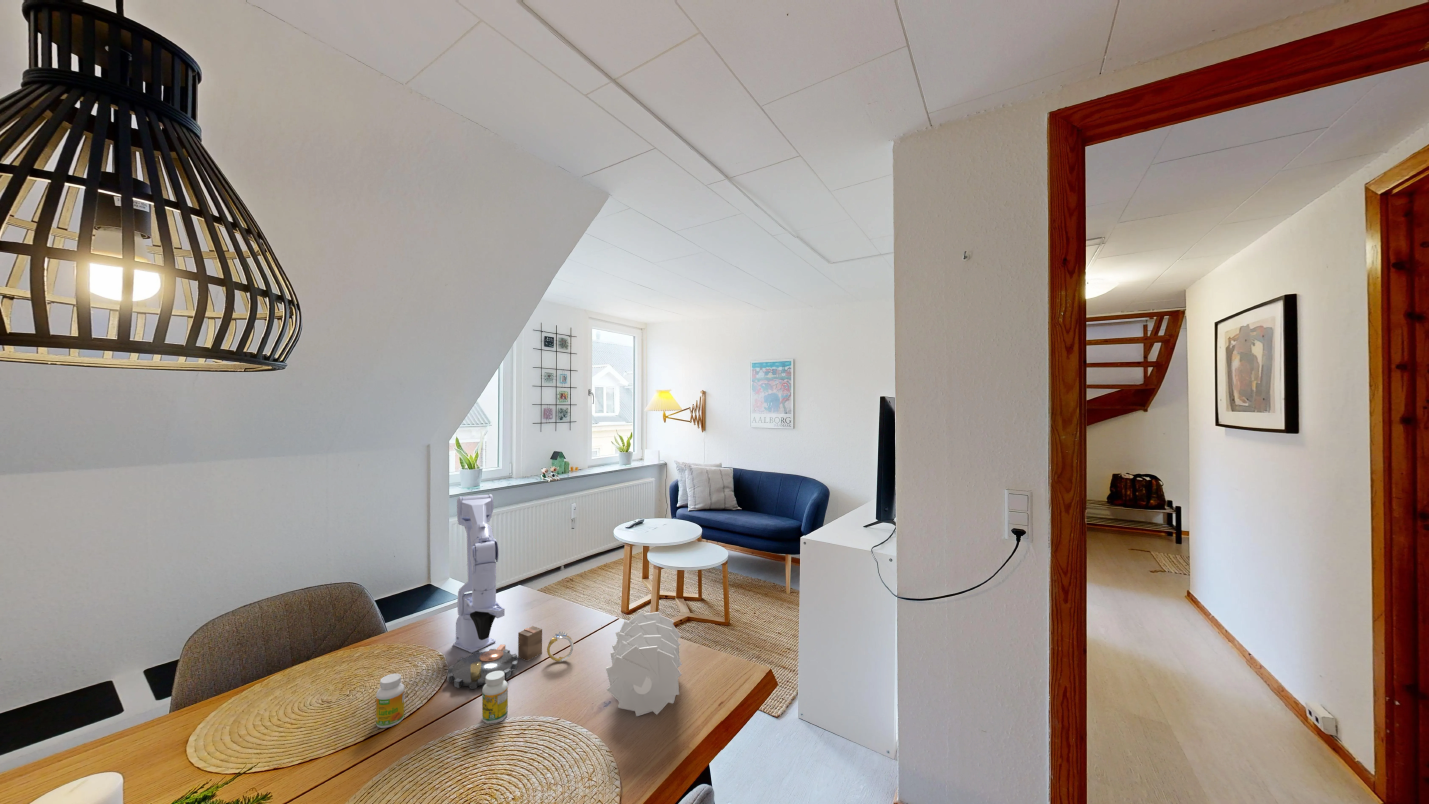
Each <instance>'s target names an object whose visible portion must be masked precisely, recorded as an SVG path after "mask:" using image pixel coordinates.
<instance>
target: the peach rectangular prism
mask: <svg viewBox="0 0 1429 804" xmlns="http://www.w3.org/2000/svg"><path fill="white" fill-rule="evenodd" d="M495 649H496V650H501V651H503V650H505V649H506V644H499V646H498V647H497V648H495Z"/></svg>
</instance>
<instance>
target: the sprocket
mask: <svg viewBox="0 0 1429 804" xmlns="http://www.w3.org/2000/svg"><path fill="white" fill-rule="evenodd" d="M496 649H497V648H490V649H489V650H485V651H481V652H480V651H479V650H477V651H475V652H472V654H471V655H467V656H466V657H464V656H462V657H460V658H458V659H457V660H456V663H455V664H454V665H453V664H450V666H449V667H448V671H447V672H448V673H447V675H446V676H447V677H446V679H447V682H448V683H452V682H453V687H455V688H457V689H458V688H461V687H469V690H470V689H471V690H472V689H477V688H478V686H484V685H485V684H486V683H485V679H486V675H487V674H489V673H491V672H494V671H503V672H504V674H505V679H508V678H509V677H510V676H512V671H513V670H514V671H515V670H517V669H518V667H519V661H518V654H517V653H513V654H512V653H511V650H509V649H506V648H505V650H503V651H501V650H496Z"/></svg>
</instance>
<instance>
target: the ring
mask: <svg viewBox="0 0 1429 804" xmlns="http://www.w3.org/2000/svg"><path fill="white" fill-rule="evenodd" d="M554 634H555V635H552V637H551V638H550V640H548V641H549V642H548V643H547V647H546V652H547V656H548V657H549V658H550V659H551V660H553V661H554V662H559V663H561V662H563V661H566V660H568V659H569V658H570V657H571V656H572V653H573V650H574V646H575V645H574V641H573V639H572V638H571V636H569V635H568V633H567V632H565V631H562V632H561V631H560V630H559V631H558V633H554ZM558 640H567V641H568V643H569V644H570V650H569V652H568V653H567V655H565V656H559V657H556V656H554V655H553V654H552V652H551V646H552V645H553V644H554V643H556V642H558Z"/></svg>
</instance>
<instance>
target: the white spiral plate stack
mask: <svg viewBox="0 0 1429 804" xmlns="http://www.w3.org/2000/svg"><path fill="white" fill-rule="evenodd" d="M674 623H675V620H673V619H671V618H669V617H666V616H664V615H662V614H660V611H655V612H648V613H643V612H642V611H639V612H638V613H637V614H635V615H634V616H633V617H631V619H629V620H624V621H623V624H622V625H621V627H620V630H618V631H616V632H615V636H616V642H615V644H613V645H612V650H613V651H610V653H609V654H610V657H611V658H610V659H611V664H612V665H609V666H607V667H605V670H606V674H607V678H608V682H609V686H608V687H607V689H606V691H607V692H609V694H610V695H612V696H613V698H615V699H616V700H617V701H618V705H617V708H619V709H622V710H628V711H632V712H634V713H635V717H639V716H642V715H645V714H648V713H651V712H653V713H654V714H656V715H658V714H659V713H660V712H661V711H662V710H663V709H664V708H665V706H666V705H668V704H669V703H670V704H674V703H675V700H676V696H679V695H680V688H679V678H680V677H681V676H682V675H683V674H682V672H681V671H680V669H679V667H681V666H682V665H683V664H682V661H681V658H680V646H681V642H680V641H679V639H680V638H681V637H682V635H681V634H680V632H679V631H678V629H677V628H676V627H675V625H674Z"/></svg>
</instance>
